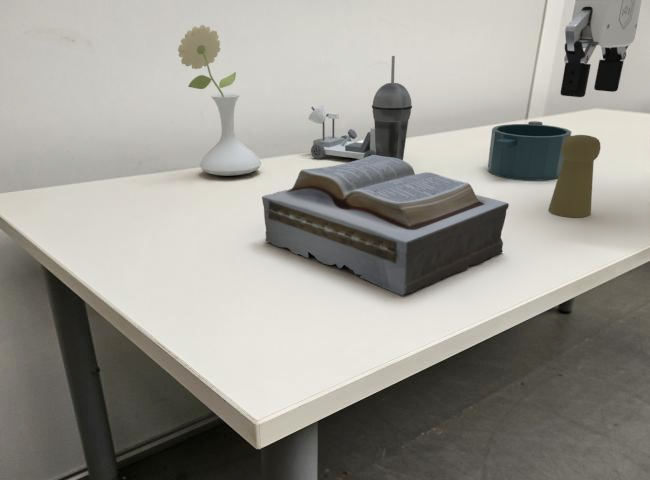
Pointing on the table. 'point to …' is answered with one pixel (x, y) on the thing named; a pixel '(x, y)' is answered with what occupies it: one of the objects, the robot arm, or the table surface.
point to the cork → (575, 177)
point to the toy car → (340, 140)
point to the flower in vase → (229, 151)
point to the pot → (527, 151)
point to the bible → (386, 222)
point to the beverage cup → (391, 118)
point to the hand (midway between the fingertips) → (589, 93)
